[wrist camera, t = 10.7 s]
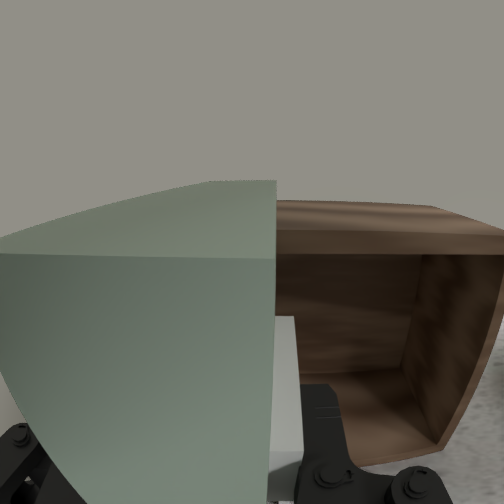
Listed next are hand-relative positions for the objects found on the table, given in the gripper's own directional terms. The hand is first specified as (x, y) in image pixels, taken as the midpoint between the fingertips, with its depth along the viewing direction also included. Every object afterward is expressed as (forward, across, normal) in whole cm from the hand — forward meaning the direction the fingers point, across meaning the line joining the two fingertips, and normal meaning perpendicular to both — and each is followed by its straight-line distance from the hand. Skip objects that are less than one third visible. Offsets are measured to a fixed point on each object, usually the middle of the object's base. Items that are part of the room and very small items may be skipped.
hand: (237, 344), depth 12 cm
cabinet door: (-3, 0, -10) cm, 10 cm away
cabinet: (+9, +8, -16) cm, 20 cm away
